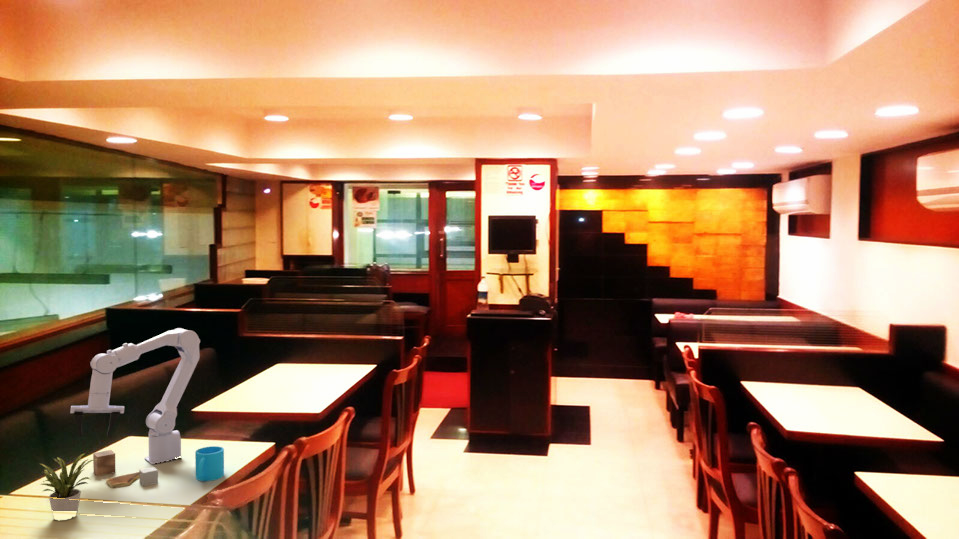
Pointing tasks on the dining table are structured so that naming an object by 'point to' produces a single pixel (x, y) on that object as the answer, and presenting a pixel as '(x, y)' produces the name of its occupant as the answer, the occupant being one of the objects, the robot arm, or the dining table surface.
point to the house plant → (65, 486)
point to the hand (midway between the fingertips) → (94, 436)
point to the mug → (209, 463)
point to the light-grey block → (148, 476)
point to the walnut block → (104, 462)
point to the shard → (122, 480)
